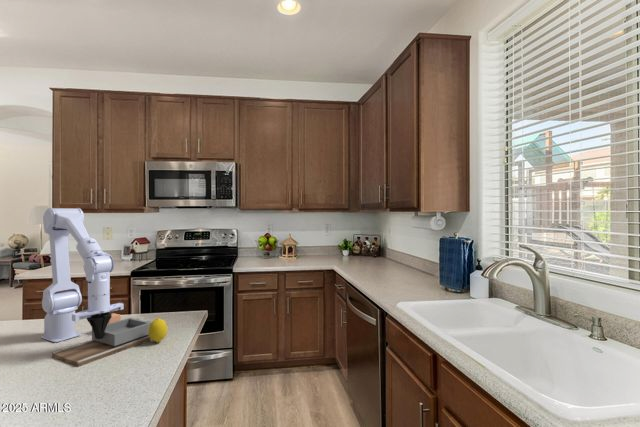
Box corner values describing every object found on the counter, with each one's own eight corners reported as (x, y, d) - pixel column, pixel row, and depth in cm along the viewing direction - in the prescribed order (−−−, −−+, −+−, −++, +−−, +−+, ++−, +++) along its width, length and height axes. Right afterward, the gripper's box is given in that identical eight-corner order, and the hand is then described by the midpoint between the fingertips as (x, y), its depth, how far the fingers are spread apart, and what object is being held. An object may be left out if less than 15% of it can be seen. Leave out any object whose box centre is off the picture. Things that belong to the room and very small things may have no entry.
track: (51, 356, 102) (51, 343, 102) (137, 329, 126) (137, 318, 126) (78, 366, 96) (78, 352, 96) (163, 335, 120) (163, 324, 120)
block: (102, 332, 123) (102, 316, 123) (113, 329, 126) (113, 313, 126) (109, 334, 121) (109, 317, 121) (120, 331, 124) (120, 314, 124)
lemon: (160, 346, 110) (160, 321, 110) (144, 345, 111) (144, 320, 111) (170, 340, 116) (170, 316, 116) (156, 338, 117) (156, 315, 117)
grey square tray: (91, 341, 112) (91, 328, 111) (130, 329, 123) (130, 317, 123) (114, 348, 106) (114, 334, 106) (152, 335, 117) (152, 322, 117)
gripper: (81, 301, 99) (81, 348, 99) (129, 291, 112) (129, 332, 112) (67, 298, 103) (67, 344, 103) (116, 288, 115) (116, 329, 116)
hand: (99, 338), depth 108 cm, fingers closed
